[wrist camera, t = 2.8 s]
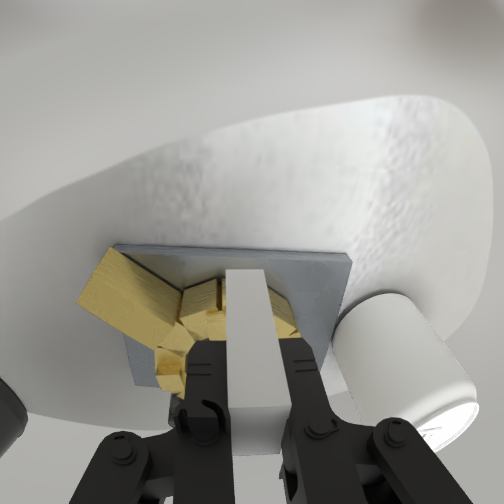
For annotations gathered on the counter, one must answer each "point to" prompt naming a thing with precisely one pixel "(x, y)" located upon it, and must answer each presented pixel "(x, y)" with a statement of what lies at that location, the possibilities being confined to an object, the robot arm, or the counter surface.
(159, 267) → the plate
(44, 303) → the counter surface
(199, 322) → the segmented ring with handle
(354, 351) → the beverage can
